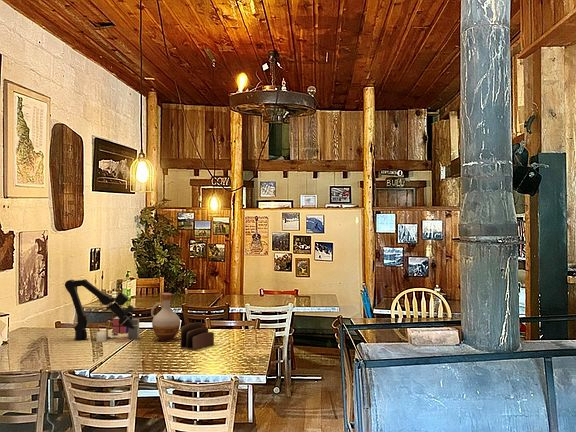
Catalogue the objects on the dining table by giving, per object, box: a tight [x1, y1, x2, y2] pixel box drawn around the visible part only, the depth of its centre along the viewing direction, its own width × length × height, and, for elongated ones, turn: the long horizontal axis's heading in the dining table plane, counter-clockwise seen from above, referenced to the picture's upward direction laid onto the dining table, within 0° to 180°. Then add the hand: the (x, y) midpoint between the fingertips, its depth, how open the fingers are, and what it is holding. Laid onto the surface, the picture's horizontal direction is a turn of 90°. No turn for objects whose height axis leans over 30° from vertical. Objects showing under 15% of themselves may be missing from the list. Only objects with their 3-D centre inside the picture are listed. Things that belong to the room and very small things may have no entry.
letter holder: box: [180, 321, 215, 351], centre depth 343 cm, size 10×20×14 cm, turn 149°
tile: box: [113, 337, 131, 344], centre depth 359 cm, size 8×8×1 cm
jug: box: [150, 292, 181, 342], centre depth 364 cm, size 20×18×30 cm
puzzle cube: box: [111, 316, 128, 334], centre depth 391 cm, size 10×10×10 cm
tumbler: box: [127, 318, 140, 341], centre depth 367 cm, size 6×6×12 cm
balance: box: [95, 324, 119, 340], centre depth 367 cm, size 15×5×10 cm, turn 122°
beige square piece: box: [96, 330, 107, 343], centre depth 358 cm, size 6×6×6 cm
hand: (134, 327), depth 368 cm, fingers open, 9 cm apart
